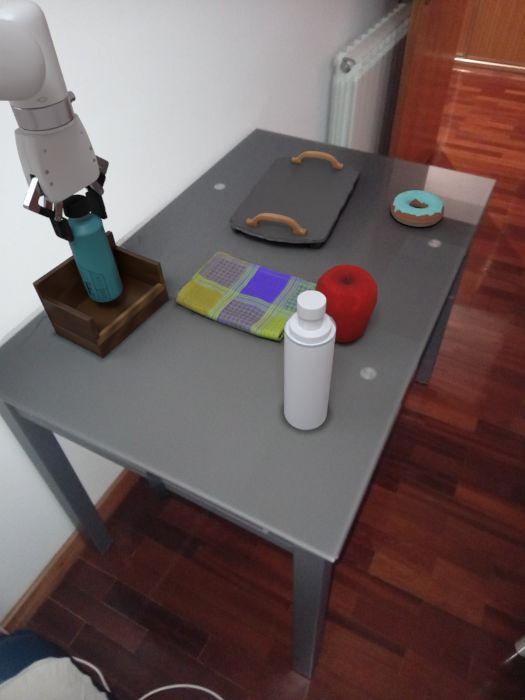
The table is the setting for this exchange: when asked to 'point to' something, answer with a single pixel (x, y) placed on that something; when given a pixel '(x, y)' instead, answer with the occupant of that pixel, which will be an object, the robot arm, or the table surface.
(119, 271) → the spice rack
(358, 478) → the table surface
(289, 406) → the spray bottle
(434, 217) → the donut
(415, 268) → the table surface
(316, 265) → the table surface
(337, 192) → the serving tray
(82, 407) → the table surface
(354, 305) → the apple
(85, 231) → the beverage bottle
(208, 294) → the dish towel
